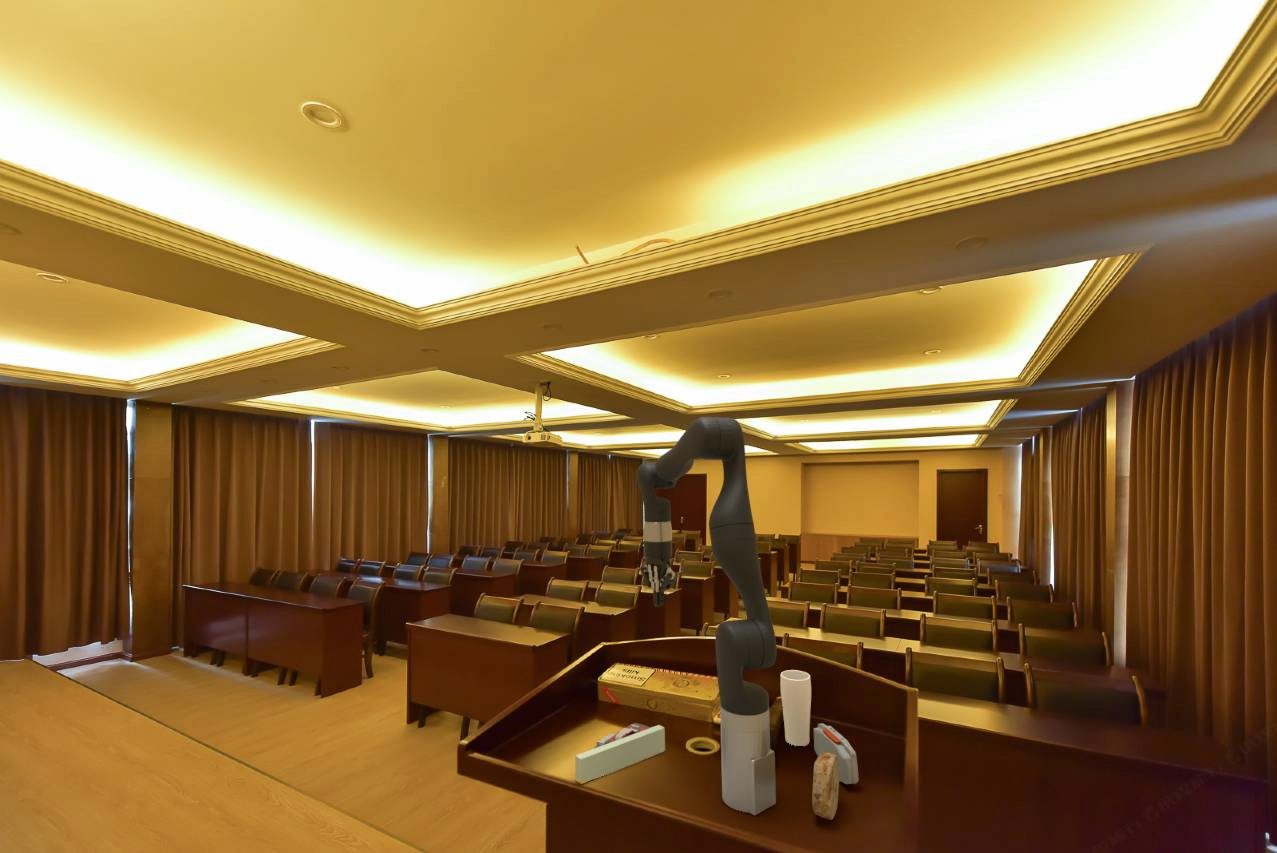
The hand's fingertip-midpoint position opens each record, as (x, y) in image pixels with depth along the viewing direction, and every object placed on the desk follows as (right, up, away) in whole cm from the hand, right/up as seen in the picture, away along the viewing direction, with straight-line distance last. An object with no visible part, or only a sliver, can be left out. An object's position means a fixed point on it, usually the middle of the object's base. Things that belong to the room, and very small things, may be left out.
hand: (658, 605), depth 151 cm
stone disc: (+29, -24, -45) cm, 59 cm away
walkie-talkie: (-10, -26, -22) cm, 35 cm away
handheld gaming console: (+35, -25, -32) cm, 53 cm away
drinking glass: (+31, -26, -18) cm, 44 cm away
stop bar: (-9, -25, -28) cm, 39 cm away
